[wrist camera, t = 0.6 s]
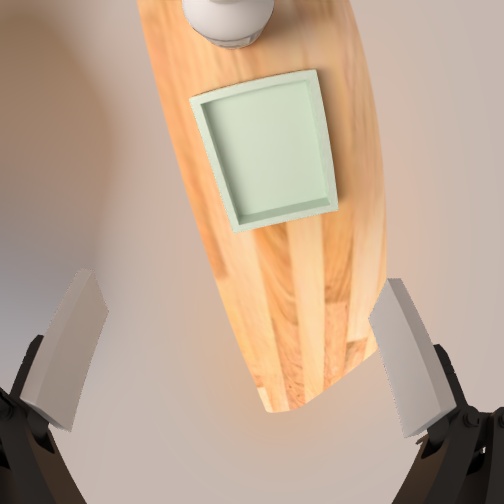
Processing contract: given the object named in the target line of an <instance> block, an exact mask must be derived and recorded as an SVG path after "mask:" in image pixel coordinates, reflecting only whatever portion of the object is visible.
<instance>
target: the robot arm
mask: <svg viewBox="0 0 504 504" xmlns="http://www.w3.org/2000/svg"><path fill="white" fill-rule="evenodd" d="M108 312H109V311H108V308H107V306H106V303H105V301H104V298H103V296H102V293H101V290H100V288H99V285H98V283H97V280H96V277H95V274H94V271H93V270H89V269H79V270H78V272H77V274H76V276H75V277H74V279H73V281H72V282H71V284H70V286H69V288H68V290H67V292H66V294H65V295H64V297H63V299H62V301H61V303H60V305H59V307H58V309H57V311H56V313H55V315H54V317H53V319H52V321H51V323H50V325H49V328H48V329H47V332H46V334H45V336H43V335H37V337H36V338H35V339H34V340H33V341H32V342H31V343H30V345H29V348H28V350H27V352H26V356H25V357H24V359H23V361H22V362H23V363H22V364H21V366H20V369H19V371H18V374H17V376H16V379H15V381H14V384H13V387H12V389H11V392H10V394H9V395H8V394H7V393H6V392H5V391H4V390H3V389H2V388H1V387H0V504H87V503H86V502H85V500H84V498H83V497H82V495H81V493H80V491H79V489H78V488H77V486H76V484H75V482H74V480H73V479H72V477H71V475H70V473H69V471H68V469H67V467H66V465H65V463H64V461H63V458H62V456H61V454H60V452H59V450H58V447H57V445H56V443H55V441H54V438H53V436H52V433H51V431H50V430H49V428H48V425H49V423H51V424H52V425H53V426H55V427H56V428H59V429H62V430H65V431H68V432H71V429H72V425H73V421H74V417H75V413H76V409H77V406H78V402H79V399H80V395H81V392H82V388H83V385H84V381H85V378H86V375H87V372H88V369H89V366H90V363H91V359H92V356H93V353H94V351H95V348H96V345H97V341H98V339H99V336H100V334H101V331H102V328H103V325H104V322H105V320H106V317H107V315H108ZM368 319H369V321H370V324H371V327H372V330H373V333H374V336H375V339H376V342H377V345H378V348H379V351H380V354H381V357H382V360H383V363H384V367H385V370H386V373H387V376H388V380H389V383H390V386H391V390H392V393H393V397H394V400H395V404H396V408H397V411H398V415H399V419H400V423H401V426H402V431H403V435H404V438H407V437H411V436H414V435H418V434H420V433H421V432H423V431H424V430H426V429H427V432H428V434H426V435H425V436H423V437H422V438H420V439H419V440H418V441H417V442H416V444H417V445H418V444H419V443H421V442H423V443H422V445H421V447H420V450H419V452H418V454H417V456H416V458H415V460H414V463H413V465H412V467H411V469H410V471H409V473H408V475H407V477H406V479H405V481H404V483H403V484H402V486H401V488H400V490H399V492H398V493H397V495H396V497H395V499H394V500H393V502H392V504H504V407H500V408H498V409H497V410H496V411H494V412H493V413H485V412H479V411H478V410H477V409H476V408H475V407H473V406H469V405H468V404H467V402H466V400H465V397H464V394H463V391H462V389H461V386H460V384H459V381H458V378H457V376H456V374H455V373H454V369H453V366H452V365H451V361H450V359H449V357H448V354H447V353H446V351H445V350H444V349H443V348H442V347H441V346H440V344H437V345H433V344H432V342H431V340H430V337H429V335H428V333H427V331H426V329H425V326H424V324H423V322H422V320H421V318H420V316H419V314H418V312H417V309H416V307H415V306H414V303H413V301H412V300H411V297H410V296H409V294H408V292H407V290H406V288H405V286H404V284H403V282H402V280H401V279H387V280H386V282H385V284H384V287H383V289H382V291H381V293H380V295H379V297H378V300H377V302H376V304H375V306H374V308H373V310H372V312H371V314H370V316H369V318H368ZM484 447H486V448H485V453H483V448H484Z"/></svg>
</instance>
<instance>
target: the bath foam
mask: <svg viewBox="0 0 504 504" xmlns="http://www.w3.org/2000/svg"><path fill="white" fill-rule="evenodd" d="M182 6H183V12H184V15H185V17H186V19H187V21H188V22H189V24H190V25H191V26H192V28H193V29H194V30H196V31H197V32H198V33H200V34H201V35H202V36H203V37H205V38H206V39H207V40H208V41H210V42H211V43H213V44H214V45H216V46H218V47H221V48H225V49H238V48H243V47H245V46H248V45H250V44H251V43H253V42H254V41H255V40H256V39H257V38H258V37H259V36H260V34H261V33H262V31H263V29H264V28H265V26H266V24H267V22H268V21H269V19H270V17H271V15H272V13H273V9H274V0H183V1H182Z"/></svg>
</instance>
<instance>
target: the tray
mask: <svg viewBox="0 0 504 504" xmlns="http://www.w3.org/2000/svg"><path fill="white" fill-rule="evenodd" d="M189 100H190V103H191V107H192V110H193V113H194V116H195V119H196V122H197V125H198V128H199V131H200V134H201V137H202V140H203V143H204V146H205V149H206V152H207V155H208V158H209V161H210V164H211V167H212V171H213V174H214V177H215V180H216V183H217V186H218V189H219V192H220V194H221V197H222V200H223V203H224V206H225V209H226V212H227V215H228V218H229V221H230V224H231V227H232V230H233V233H237V232H242V231H246V230H250V229H255V228H259V227H264V226H268V225H272V224H277V223H281V222H286V221H290V220H295V219H299V218H304V217H308V216H313V215H318V214H322V213H327V212H332V211H336V210H339V207H338V198H337V190H336V182H335V174H334V167H333V160H332V153H331V146H330V140H329V134H328V128H327V122H326V117H325V111H324V106H323V101H322V96H321V91H320V86H319V81H318V77H317V72H316V69H307V70H300V71H294V72H289V73H283V74H278V75H273V76H268V77H263V78H258V79H254V80H250V81H245V82H241V83H237V84H233V85H230V86H226V87H222V88H219V89H215V90H212V91H208V92H205V93H202V94H198V95H195V96H193V97H191V98H189Z"/></svg>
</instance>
